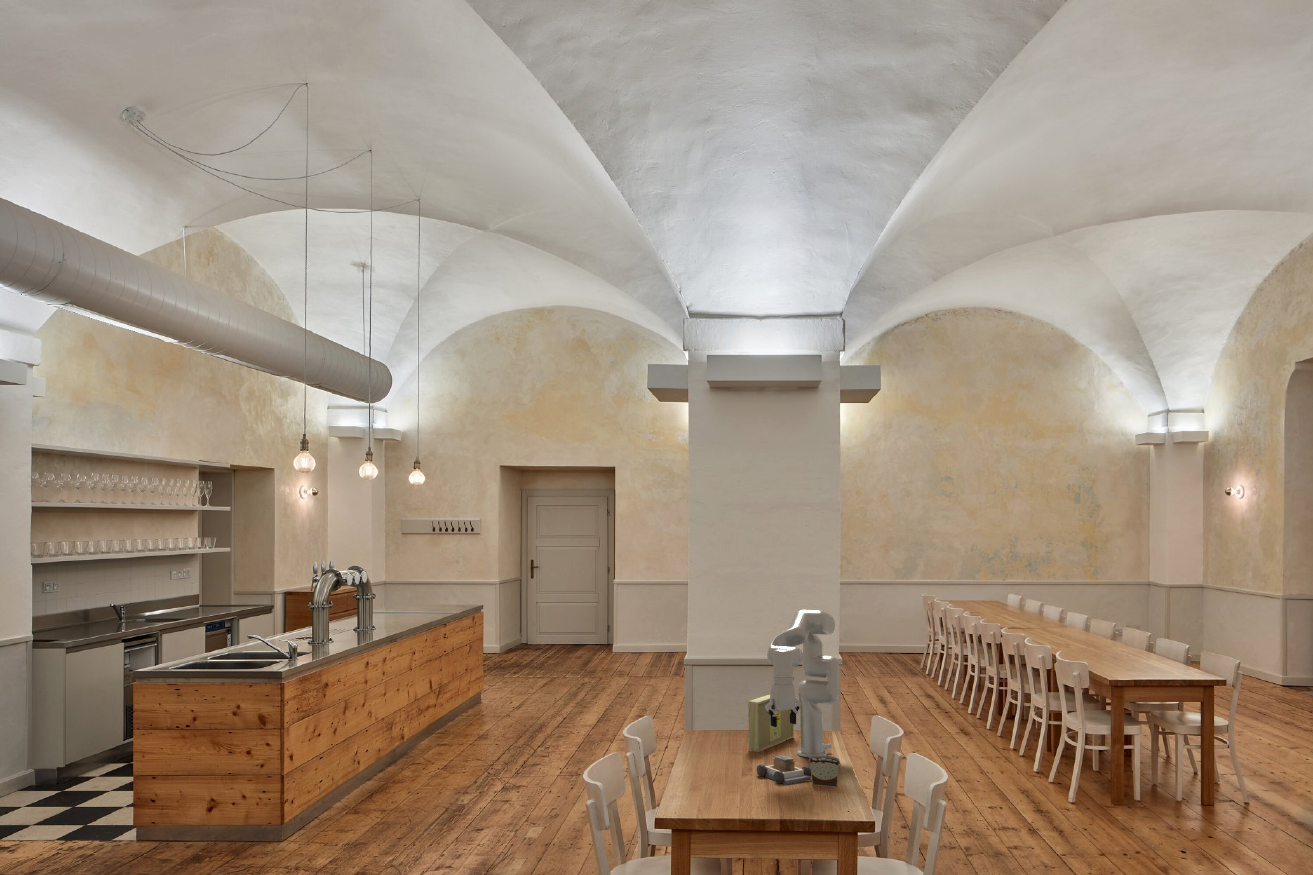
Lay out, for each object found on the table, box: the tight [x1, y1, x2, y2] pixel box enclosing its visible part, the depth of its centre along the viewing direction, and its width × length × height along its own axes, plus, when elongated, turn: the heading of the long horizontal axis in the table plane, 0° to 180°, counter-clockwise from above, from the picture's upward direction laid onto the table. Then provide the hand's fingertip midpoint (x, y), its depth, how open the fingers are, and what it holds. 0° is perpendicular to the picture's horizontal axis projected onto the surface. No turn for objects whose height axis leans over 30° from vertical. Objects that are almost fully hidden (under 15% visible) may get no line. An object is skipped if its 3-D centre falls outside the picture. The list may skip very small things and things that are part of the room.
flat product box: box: [747, 694, 795, 753], centre depth 423 cm, size 35×5×22 cm, turn 145°
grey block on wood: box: [772, 754, 796, 772], centre depth 366 cm, size 5×7×6 cm
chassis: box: [756, 764, 812, 786], centre depth 365 cm, size 15×18×4 cm
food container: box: [807, 755, 841, 788], centre depth 356 cm, size 12×6×10 cm, turn 71°
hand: (783, 724), depth 367 cm, fingers open, 9 cm apart
